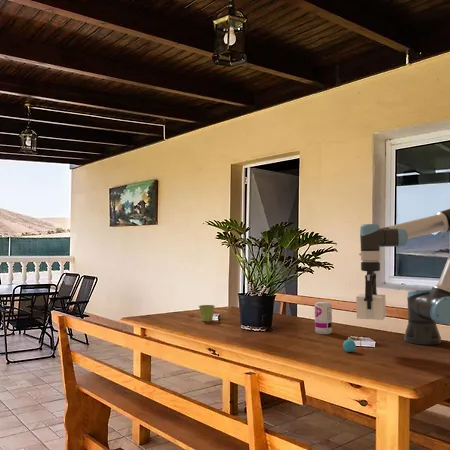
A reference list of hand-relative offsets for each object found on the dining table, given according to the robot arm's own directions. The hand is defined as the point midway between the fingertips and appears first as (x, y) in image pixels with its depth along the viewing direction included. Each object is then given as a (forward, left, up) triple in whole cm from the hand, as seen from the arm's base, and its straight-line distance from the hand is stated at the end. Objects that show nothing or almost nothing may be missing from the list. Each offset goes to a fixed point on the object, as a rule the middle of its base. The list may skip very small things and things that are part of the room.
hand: (371, 315), depth 193 cm
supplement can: (+26, -32, -15) cm, 44 cm away
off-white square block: (0, 0, -1) cm, 1 cm away
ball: (+9, +4, -12) cm, 15 cm away
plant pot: (+95, -45, -15) cm, 106 cm away
